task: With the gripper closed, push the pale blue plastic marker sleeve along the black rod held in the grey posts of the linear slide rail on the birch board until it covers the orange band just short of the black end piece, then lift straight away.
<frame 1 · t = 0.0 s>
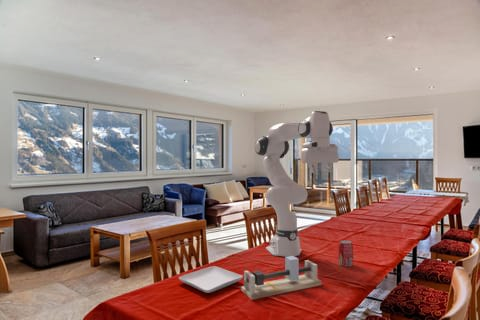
hand: (320, 172, 158), 48 cm above the table, tool pointing down, fingers open, 8 cm apart
soda can: (345, 265, 166), on the table
salad plate: (210, 284, 145), on the table
linear slide rail: (282, 287, 139), on the table
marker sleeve: (291, 268, 141), point 7 cm above the table, slide at 0.0 cm
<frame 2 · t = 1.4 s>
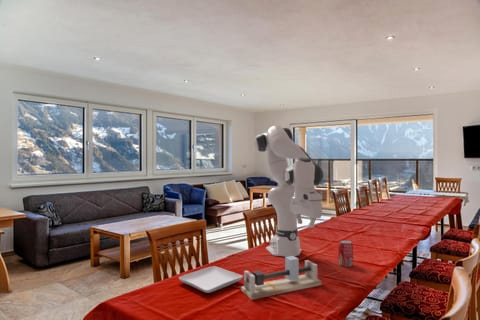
hand: (305, 225, 144), 25 cm above the table, tool pointing down, fingers open, 8 cm apart
nothing on the table moved.
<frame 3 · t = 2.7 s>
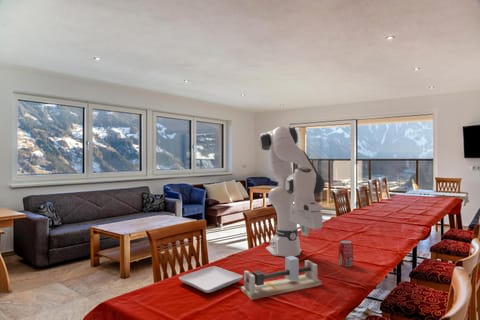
hand: (305, 235, 143), 21 cm above the table, tool pointing down, fingers closed
nothing on the table moved.
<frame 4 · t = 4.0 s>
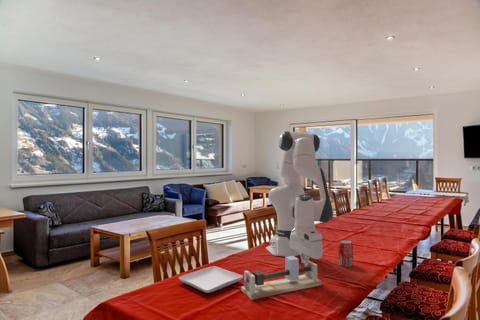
hand: (305, 263, 144), 9 cm above the table, tool pointing down, fingers closed
nothing on the table moved.
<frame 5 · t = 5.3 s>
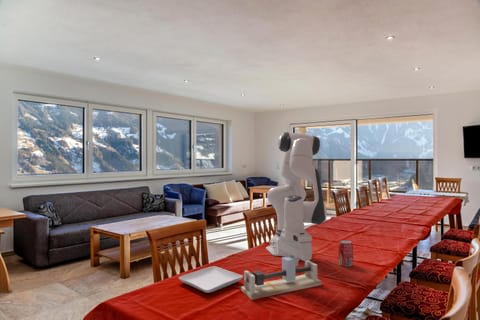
hand: (294, 265, 141), 9 cm above the table, tool pointing down, fingers closed
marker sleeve: (288, 268, 140), point 7 cm above the table, slide at 1.7 cm, touching gripper
everything else where it was.
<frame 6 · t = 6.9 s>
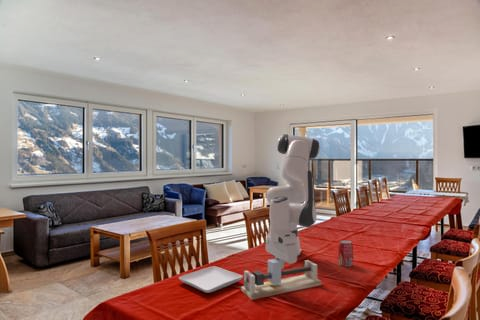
hand: (280, 267, 138), 9 cm above the table, tool pointing down, fingers closed, pressing on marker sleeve
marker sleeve: (274, 271, 137), point 7 cm above the table, slide at 8.8 cm, touching gripper
everything else where it was.
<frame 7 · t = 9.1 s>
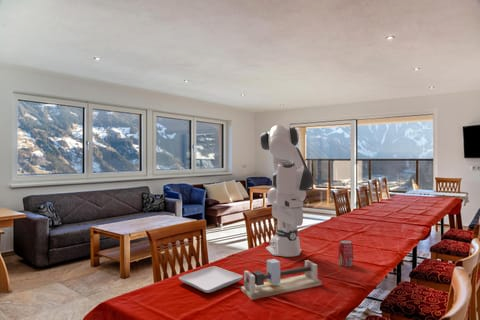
hand: (286, 231, 141), 23 cm above the table, tool pointing down, fingers closed
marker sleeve: (273, 271, 137), point 7 cm above the table, slide at 9.2 cm
everything else where it was.
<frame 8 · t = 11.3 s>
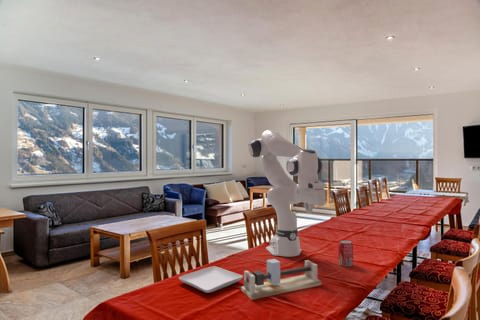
hand: (308, 212, 154), 29 cm above the table, tool pointing down, fingers closed
nothing on the table moved.
at the end: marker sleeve slide at 9.2 cm; soda can moved 0.2 cm from its start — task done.
